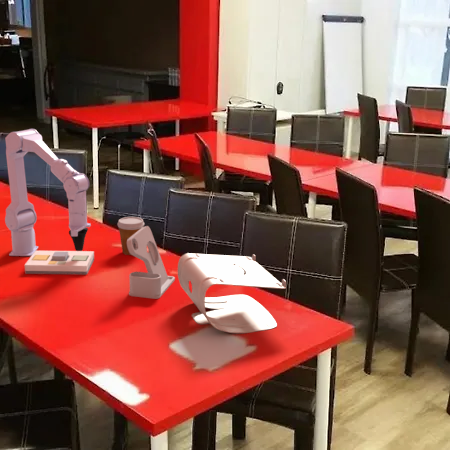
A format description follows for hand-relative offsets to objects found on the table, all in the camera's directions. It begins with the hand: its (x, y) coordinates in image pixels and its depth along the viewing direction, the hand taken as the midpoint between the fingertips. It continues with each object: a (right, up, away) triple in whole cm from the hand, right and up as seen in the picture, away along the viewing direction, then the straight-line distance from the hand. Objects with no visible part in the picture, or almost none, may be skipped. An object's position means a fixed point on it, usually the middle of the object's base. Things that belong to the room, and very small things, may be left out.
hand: (79, 250), depth 216 cm
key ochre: (-13, -4, +1) cm, 14 cm away
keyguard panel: (-7, -5, +2) cm, 9 cm away
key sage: (0, -4, +1) cm, 5 cm away
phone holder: (+26, -11, -13) cm, 31 cm away
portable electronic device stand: (+50, -17, -31) cm, 61 cm away
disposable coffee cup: (+15, -2, +17) cm, 22 cm away
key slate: (-6, -3, +1) cm, 7 cm away
